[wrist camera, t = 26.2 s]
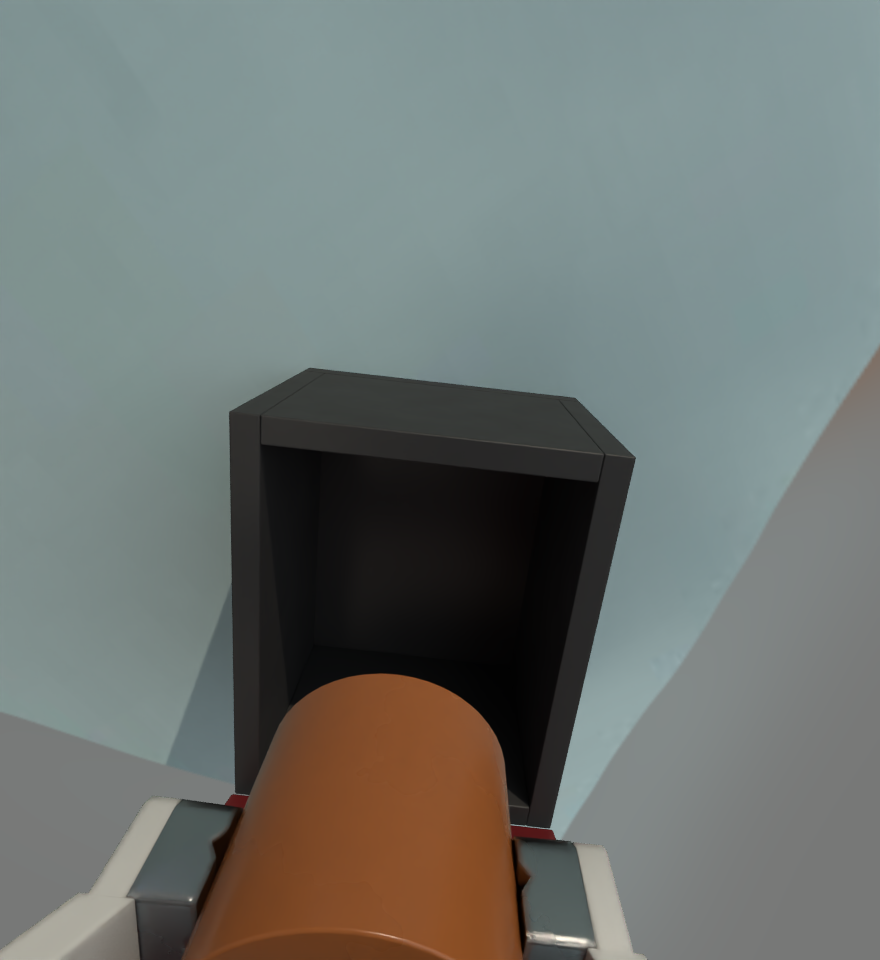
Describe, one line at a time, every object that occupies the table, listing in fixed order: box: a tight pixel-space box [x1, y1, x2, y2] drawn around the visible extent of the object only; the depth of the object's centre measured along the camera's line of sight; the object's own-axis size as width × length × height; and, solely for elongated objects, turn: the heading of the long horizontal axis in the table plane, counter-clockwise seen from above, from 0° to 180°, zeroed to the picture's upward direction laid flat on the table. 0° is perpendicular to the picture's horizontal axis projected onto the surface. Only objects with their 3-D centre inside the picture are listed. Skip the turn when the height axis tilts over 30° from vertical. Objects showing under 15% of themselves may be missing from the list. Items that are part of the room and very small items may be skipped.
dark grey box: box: [229, 368, 636, 828], centre depth 25 cm, size 16×13×10 cm
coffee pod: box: [181, 673, 523, 960], centre depth 9 cm, size 5×5×4 cm
